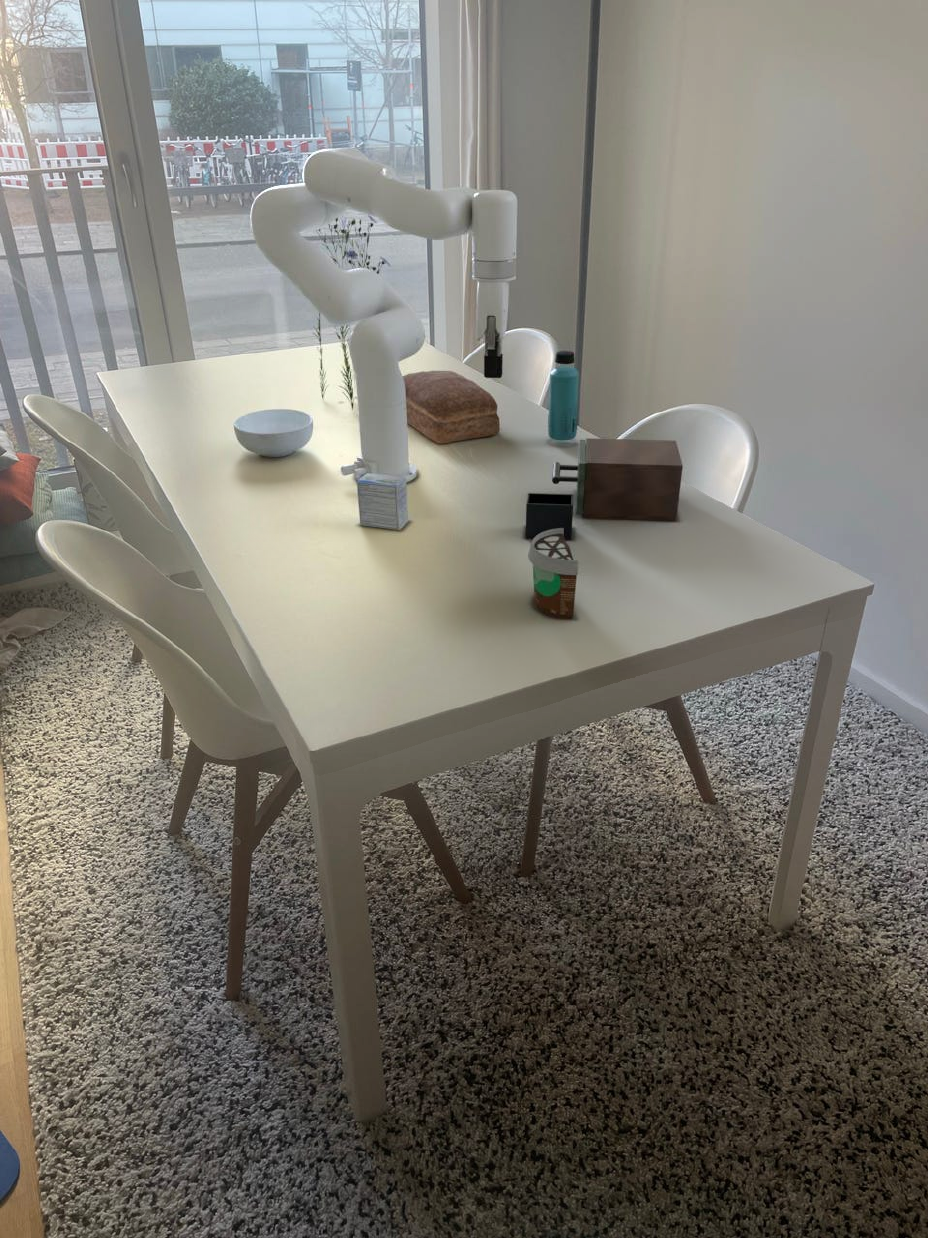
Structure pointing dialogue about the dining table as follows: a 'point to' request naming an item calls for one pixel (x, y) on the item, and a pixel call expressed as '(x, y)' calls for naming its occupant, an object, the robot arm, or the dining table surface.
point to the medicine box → (382, 501)
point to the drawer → (579, 479)
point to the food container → (553, 574)
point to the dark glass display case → (549, 514)
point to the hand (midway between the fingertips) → (493, 376)
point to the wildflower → (350, 255)
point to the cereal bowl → (274, 431)
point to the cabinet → (632, 479)
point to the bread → (449, 407)
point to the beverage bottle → (563, 398)
